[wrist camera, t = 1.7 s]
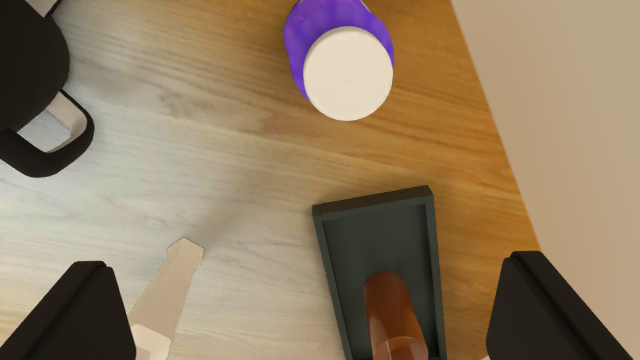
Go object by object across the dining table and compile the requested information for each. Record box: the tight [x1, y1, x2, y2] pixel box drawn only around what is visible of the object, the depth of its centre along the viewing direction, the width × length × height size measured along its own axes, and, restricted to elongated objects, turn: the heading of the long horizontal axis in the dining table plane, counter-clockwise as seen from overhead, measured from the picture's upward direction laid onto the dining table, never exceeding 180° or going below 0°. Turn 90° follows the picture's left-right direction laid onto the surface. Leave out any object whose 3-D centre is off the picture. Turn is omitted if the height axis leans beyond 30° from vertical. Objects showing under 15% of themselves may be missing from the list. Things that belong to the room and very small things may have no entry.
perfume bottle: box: [127, 238, 204, 360], centre depth 36 cm, size 5×4×15 cm
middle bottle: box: [362, 272, 428, 360], centre depth 39 cm, size 5×5×12 cm
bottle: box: [284, 0, 394, 121], centre depth 26 cm, size 7×6×17 cm
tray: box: [312, 185, 447, 360], centre depth 44 cm, size 12×23×2 cm, turn 11°
